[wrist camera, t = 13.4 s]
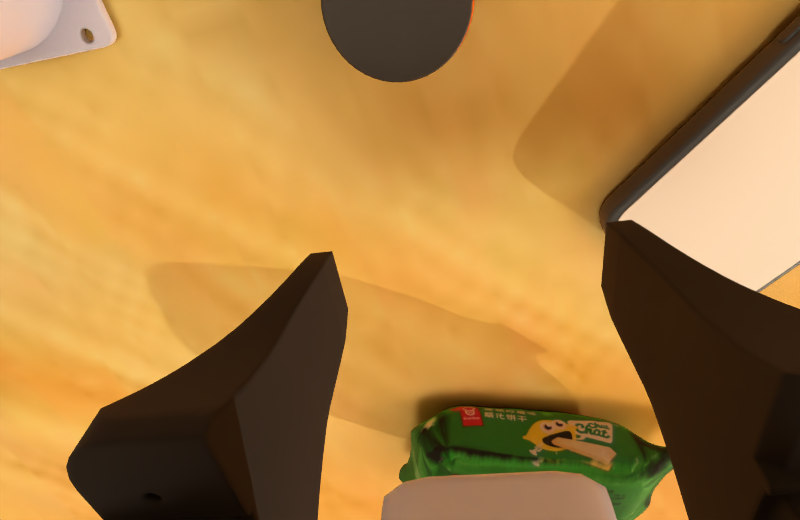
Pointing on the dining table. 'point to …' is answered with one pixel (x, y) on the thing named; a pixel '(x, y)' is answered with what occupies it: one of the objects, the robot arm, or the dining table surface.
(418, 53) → the dark brown cylinder
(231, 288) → the dining table surface
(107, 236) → the dining table surface
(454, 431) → the snack package
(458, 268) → the dining table surface
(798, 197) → the phone case
